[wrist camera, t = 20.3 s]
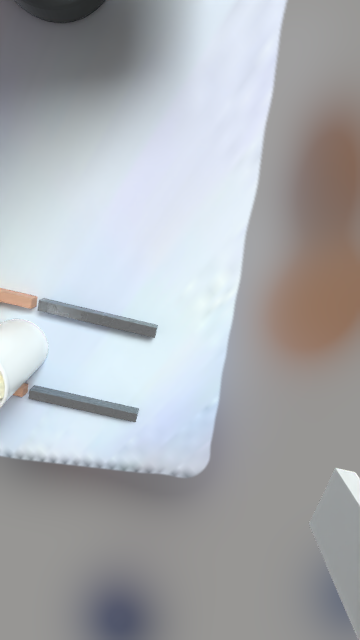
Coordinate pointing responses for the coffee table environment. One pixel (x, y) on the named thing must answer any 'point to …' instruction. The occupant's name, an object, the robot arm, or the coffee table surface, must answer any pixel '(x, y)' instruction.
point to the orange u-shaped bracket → (22, 301)
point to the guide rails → (99, 319)
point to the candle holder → (19, 354)
